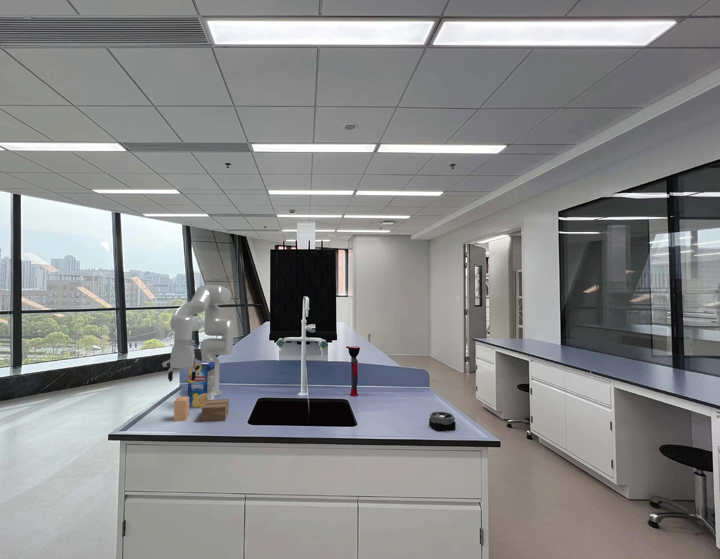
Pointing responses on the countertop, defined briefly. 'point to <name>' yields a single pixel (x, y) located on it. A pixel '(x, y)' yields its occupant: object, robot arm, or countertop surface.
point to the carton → (181, 409)
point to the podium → (215, 410)
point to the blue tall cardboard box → (201, 384)
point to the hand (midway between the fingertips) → (182, 380)
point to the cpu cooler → (442, 421)
